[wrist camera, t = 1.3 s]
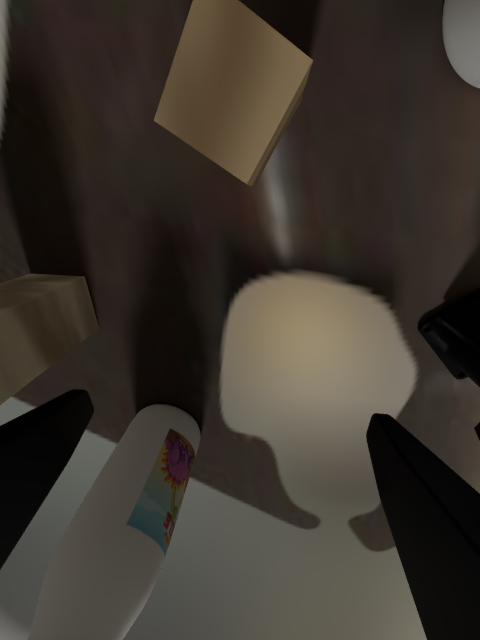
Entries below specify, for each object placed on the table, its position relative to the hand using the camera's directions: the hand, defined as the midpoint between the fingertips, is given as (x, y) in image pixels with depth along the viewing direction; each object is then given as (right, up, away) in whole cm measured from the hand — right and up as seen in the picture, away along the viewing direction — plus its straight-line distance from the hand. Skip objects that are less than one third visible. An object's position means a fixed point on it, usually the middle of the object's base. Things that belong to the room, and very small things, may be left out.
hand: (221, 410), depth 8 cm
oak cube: (+1, +15, +7) cm, 16 cm away
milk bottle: (-7, -9, +21) cm, 24 cm away
